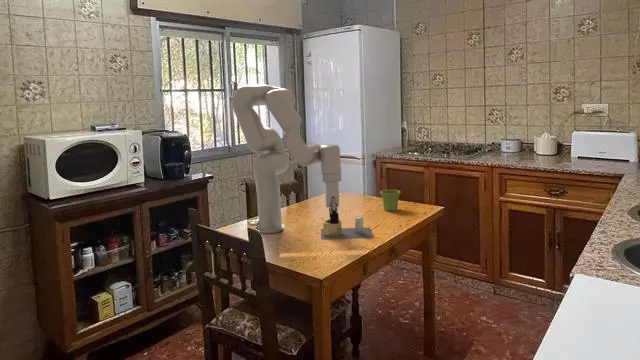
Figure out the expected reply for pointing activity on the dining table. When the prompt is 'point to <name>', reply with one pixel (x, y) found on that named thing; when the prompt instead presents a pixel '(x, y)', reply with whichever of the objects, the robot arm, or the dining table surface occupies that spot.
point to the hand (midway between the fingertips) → (334, 220)
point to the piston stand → (352, 232)
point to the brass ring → (332, 228)
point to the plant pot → (390, 199)
